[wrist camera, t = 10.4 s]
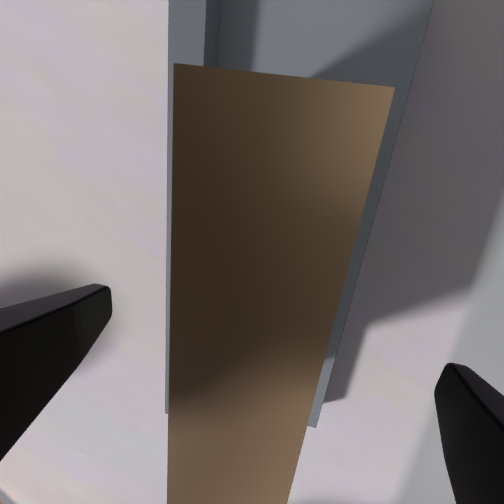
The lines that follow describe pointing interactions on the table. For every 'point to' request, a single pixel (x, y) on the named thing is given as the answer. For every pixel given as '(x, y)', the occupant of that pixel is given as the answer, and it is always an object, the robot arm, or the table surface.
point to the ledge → (310, 66)
